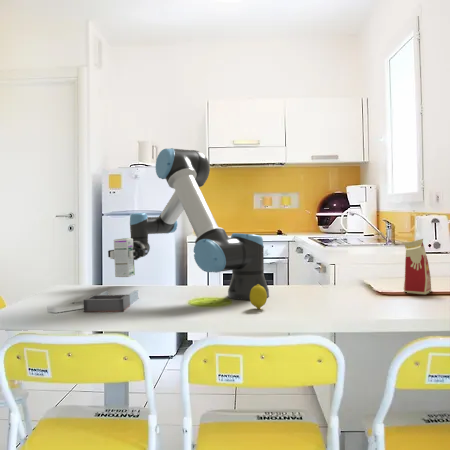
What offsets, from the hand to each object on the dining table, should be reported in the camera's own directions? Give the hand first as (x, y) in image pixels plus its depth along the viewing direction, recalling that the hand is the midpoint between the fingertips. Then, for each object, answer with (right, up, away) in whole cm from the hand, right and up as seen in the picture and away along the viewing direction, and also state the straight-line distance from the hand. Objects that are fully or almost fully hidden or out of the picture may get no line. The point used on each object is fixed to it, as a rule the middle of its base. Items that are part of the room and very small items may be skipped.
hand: (120, 255), depth 183 cm
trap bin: (0, -17, -20) cm, 26 cm away
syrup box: (+1, -9, +5) cm, 10 cm away
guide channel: (0, -16, -8) cm, 18 cm away
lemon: (+50, -16, -25) cm, 58 cm away
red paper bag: (+111, -14, +1) cm, 111 cm away
